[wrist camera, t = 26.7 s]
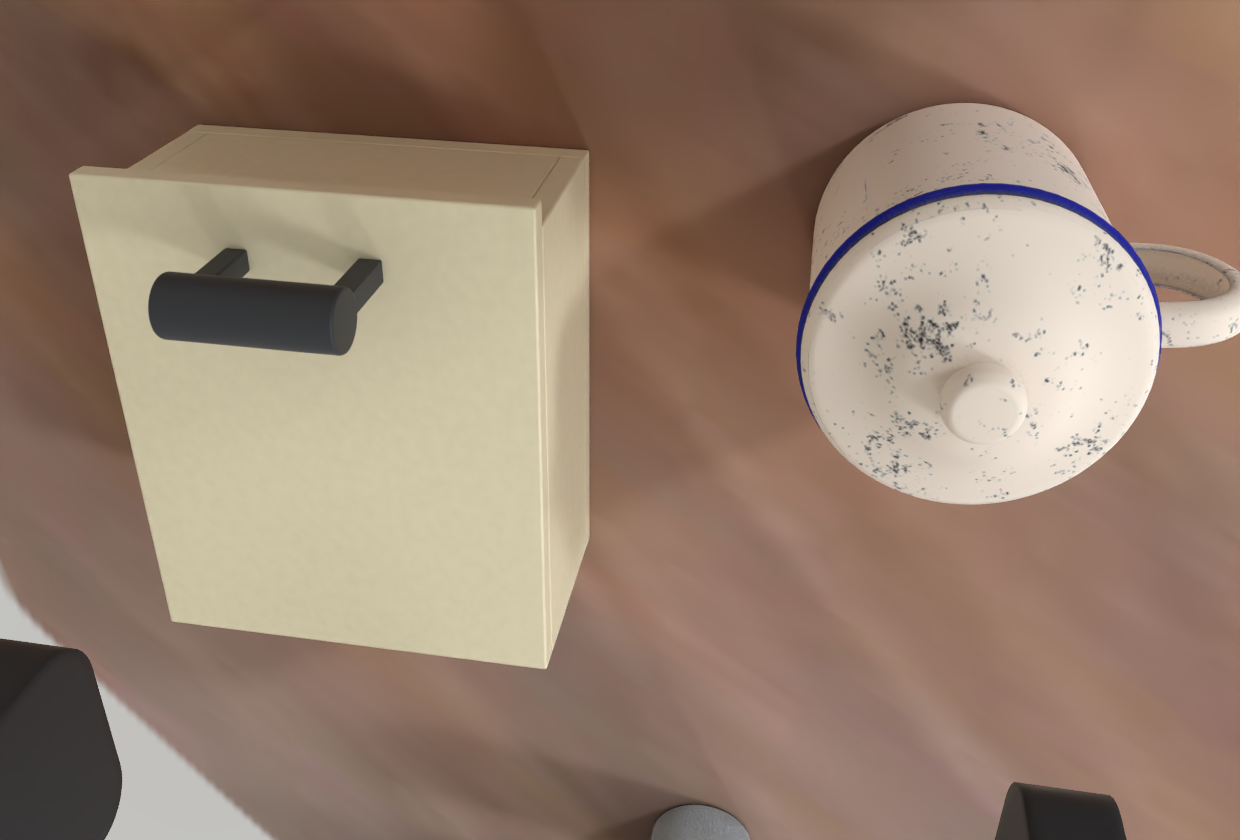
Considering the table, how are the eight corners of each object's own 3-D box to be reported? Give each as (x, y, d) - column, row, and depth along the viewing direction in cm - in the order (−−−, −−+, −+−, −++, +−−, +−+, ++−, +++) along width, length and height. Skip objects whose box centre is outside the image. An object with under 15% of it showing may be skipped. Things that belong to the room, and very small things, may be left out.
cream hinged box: (197, 124, 40) (88, 191, 35) (589, 149, 39) (542, 225, 33) (262, 501, 48) (182, 607, 43) (589, 537, 46) (551, 653, 41)
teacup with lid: (808, 361, 41) (795, 564, 31) (804, 98, 37) (786, 238, 27) (1180, 358, 39) (1293, 577, 29) (1223, 77, 34) (1375, 222, 24)
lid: (82, 164, 34) (-28, 227, 30) (542, 197, 32) (495, 269, 28) (181, 607, 43) (106, 706, 38) (551, 654, 41) (516, 763, 36)
